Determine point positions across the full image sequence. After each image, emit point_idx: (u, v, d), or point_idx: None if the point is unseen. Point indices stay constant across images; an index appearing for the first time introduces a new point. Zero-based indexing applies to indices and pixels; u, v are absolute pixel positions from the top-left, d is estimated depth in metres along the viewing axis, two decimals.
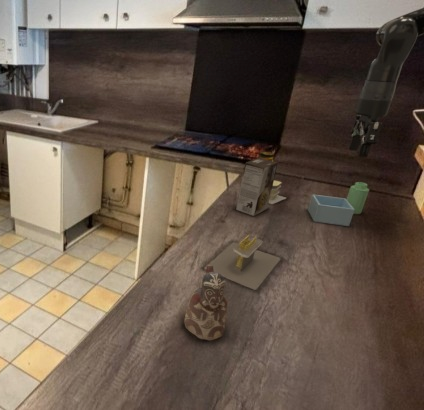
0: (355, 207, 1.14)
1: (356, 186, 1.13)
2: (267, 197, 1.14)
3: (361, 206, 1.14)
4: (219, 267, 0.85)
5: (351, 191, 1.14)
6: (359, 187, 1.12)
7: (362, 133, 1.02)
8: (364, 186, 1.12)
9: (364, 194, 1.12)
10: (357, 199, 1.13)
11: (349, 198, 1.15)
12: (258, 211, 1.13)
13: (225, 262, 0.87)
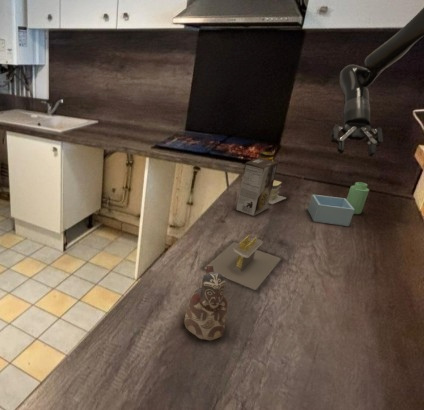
0: (355, 207, 1.14)
1: (356, 186, 1.13)
2: (267, 197, 1.14)
3: (361, 206, 1.14)
4: (219, 267, 0.85)
5: (351, 191, 1.14)
6: (359, 187, 1.12)
7: None
8: (364, 186, 1.12)
9: (364, 194, 1.12)
10: (357, 199, 1.13)
11: (349, 198, 1.15)
12: (258, 211, 1.13)
13: (226, 262, 0.87)
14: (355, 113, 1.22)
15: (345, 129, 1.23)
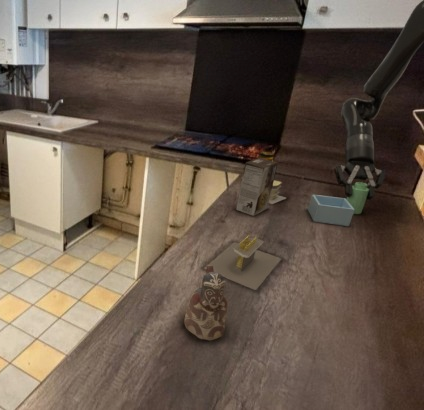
0: (355, 207, 1.14)
1: (356, 186, 1.13)
2: (267, 197, 1.14)
3: (361, 206, 1.14)
4: (219, 267, 0.85)
5: None
6: (359, 187, 1.12)
7: None
8: (364, 186, 1.12)
9: (364, 194, 1.12)
10: (357, 199, 1.13)
11: (349, 198, 1.15)
12: (258, 211, 1.13)
13: (226, 262, 0.87)
14: (358, 151, 1.15)
15: (347, 168, 1.16)
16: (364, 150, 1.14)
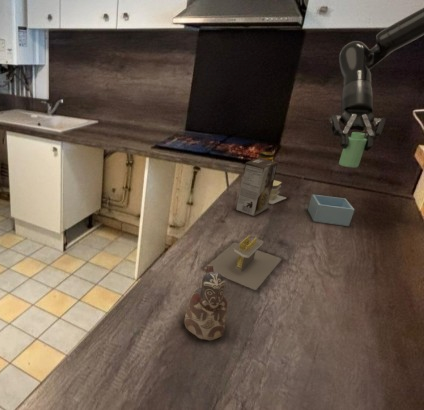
0: (351, 159, 1.03)
1: (352, 136, 1.02)
2: (267, 197, 1.14)
3: (358, 158, 1.03)
4: (220, 267, 0.85)
5: None
6: (356, 137, 1.02)
7: None
8: (361, 135, 1.01)
9: (361, 144, 1.01)
10: (354, 150, 1.02)
11: (345, 150, 1.04)
12: (258, 211, 1.13)
13: (226, 262, 0.87)
14: (355, 98, 1.04)
15: (343, 117, 1.06)
16: (362, 97, 1.04)
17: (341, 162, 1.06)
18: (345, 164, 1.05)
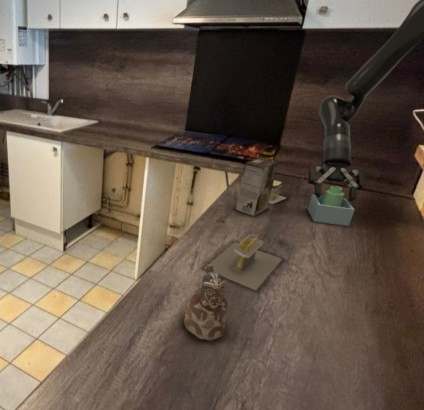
0: None
1: (331, 190, 1.08)
2: (267, 197, 1.14)
3: None
4: (220, 267, 0.85)
5: (326, 195, 1.09)
6: (334, 191, 1.07)
7: None
8: (339, 190, 1.07)
9: (339, 199, 1.07)
10: (332, 204, 1.08)
11: (324, 203, 1.10)
12: (258, 211, 1.13)
13: (226, 262, 0.87)
14: (334, 152, 1.10)
15: (323, 170, 1.11)
16: (340, 151, 1.09)
17: None
18: None
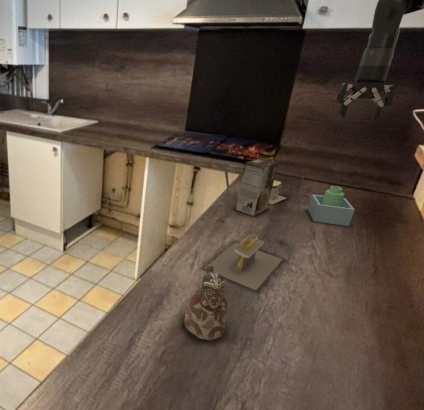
0: None
1: (331, 190, 1.08)
2: (267, 197, 1.14)
3: None
4: (220, 267, 0.85)
5: (326, 195, 1.09)
6: (334, 191, 1.07)
7: None
8: (339, 190, 1.07)
9: (339, 199, 1.07)
10: (332, 204, 1.08)
11: (324, 203, 1.10)
12: (258, 211, 1.13)
13: (226, 262, 0.87)
14: (369, 73, 1.08)
15: (354, 89, 1.13)
16: (376, 72, 1.07)
17: None
18: None
